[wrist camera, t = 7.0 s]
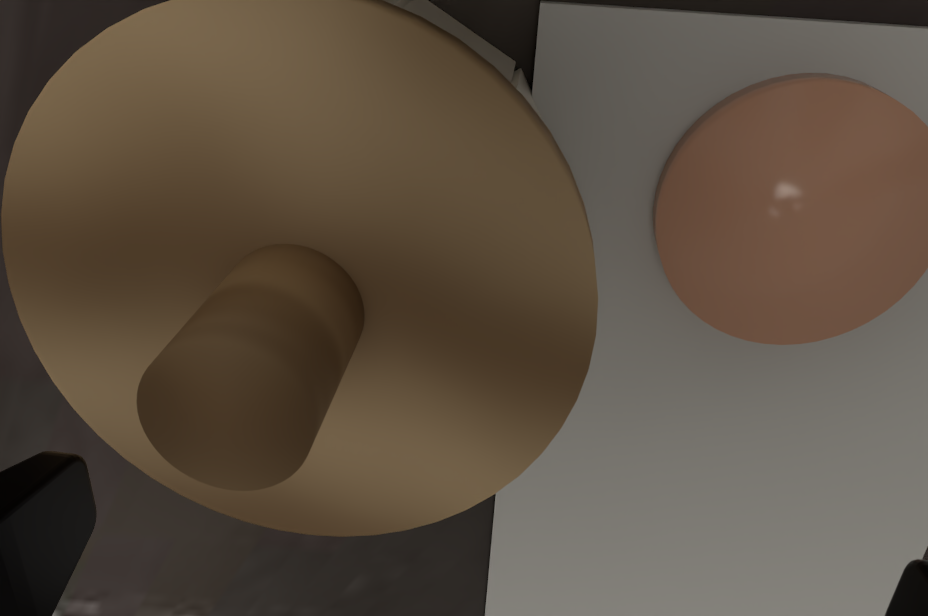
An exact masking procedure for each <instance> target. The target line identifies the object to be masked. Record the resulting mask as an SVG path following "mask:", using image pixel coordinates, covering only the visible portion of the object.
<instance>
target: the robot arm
mask: <svg viewBox="0 0 928 616" xmlns="http://www.w3.org/2000/svg"><path fill="white" fill-rule="evenodd" d="M95 522H96V505H95V501H94V496H93V492H92V487H91V482H90V478H89V473H88V469H87V465H86V462H85V461H84V459H83V458H82V457H81V456H79V455H77V454H71V453H63V452H54V451H45V452H41V453H39V454H37V455H35V456H33V457H31V458H28V459H26V460H24V461H22V462H20V463H18V464H16V465H14V466H12V467H10V468H8V469H6V470H4V471H1V472H0V616H52V614H53V612H54V610H55V608H56V606H57V604H58V602H59V600H60V598H61V596H62V594H63V592H64V590H65V588H66V585H67V583H68V581H69V579H70V577H71V575H72V573H73V571H74V569H75V567H76V565H77V563H78V561H79V559H80V557H81V555H82V552H83V550H84V548H85V546H86V544H87V542H88V540H89V538H90V536H91V534H92V531H93V529H94V526H95ZM885 616H928V560H922V559H916V560H912V561H910V562H909V563H908V564H907V565H906V567H905V569H904V570H903V573H902V575H901V577H900V580H899V582H898V584H897V587H896V589H895V591H894V594H893V596H892V598H891V601H890V603H889V605H888V608H887V610H886V613H885Z"/></svg>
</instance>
